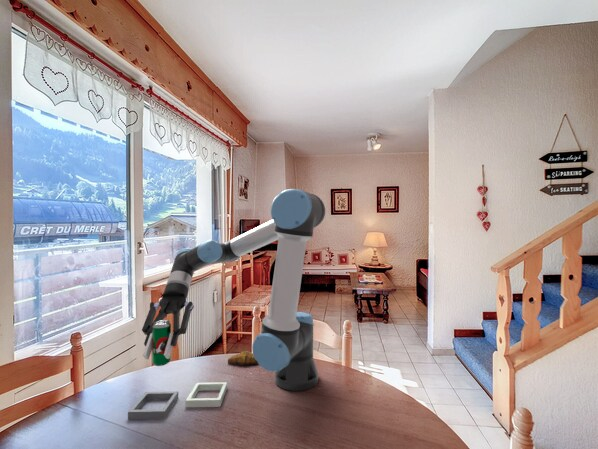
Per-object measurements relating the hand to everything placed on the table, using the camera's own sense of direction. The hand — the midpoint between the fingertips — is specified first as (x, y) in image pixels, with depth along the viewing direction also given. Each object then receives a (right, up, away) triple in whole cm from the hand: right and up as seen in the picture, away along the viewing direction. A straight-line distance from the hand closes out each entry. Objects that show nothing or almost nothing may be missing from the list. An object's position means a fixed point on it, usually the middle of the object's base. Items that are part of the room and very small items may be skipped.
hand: (156, 357), depth 83 cm
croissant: (+19, -17, +32) cm, 41 cm away
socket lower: (+12, -16, +8) cm, 22 cm away
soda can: (0, -4, +4) cm, 5 cm away
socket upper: (-2, -16, +3) cm, 16 cm away
